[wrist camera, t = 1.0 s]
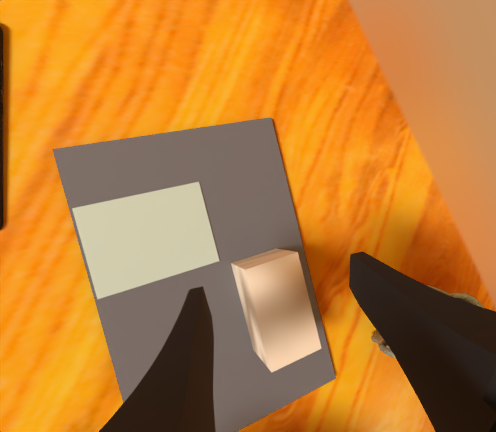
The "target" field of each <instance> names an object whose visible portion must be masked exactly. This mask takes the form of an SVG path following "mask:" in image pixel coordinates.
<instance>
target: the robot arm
mask: <svg viewBox="0 0 496 432" xmlns="http://www.w3.org/2000/svg"><path fill="white" fill-rule="evenodd" d="M349 287H350V289H351V291H352V293H353V294H354V296H355V298H356V300H357V302H358V304H359V305H360V307H361V308H362V310H363V311H364V313H365V314H366V315H367V317H368V318H369V320H370V321H371V322H372V324H373V325H374V327H375V328H376V329H377V331H378V332H379V334H380V335H381V336H382V338H383V339H384V341H385V342H386V343H387V345H388V346H389V348H390V349H391V351H392V352H393V354H394V356H395V357H396V359H397V361H398V362H399V364H400V366H401V368H402V369H403V371H404V373H405V375H406V376H407V378H408V380H409V382H410V384H411V385H412V387H413V389H414V391H415V393H416V394H417V396H418V398H419V400H420V402H421V404H422V406H423V408H424V410H425V412H426V414H427V415H428V417H429V419H430V421H431V423H432V425H433V427H434V429H435V431H436V432H496V312H495V311H492V310H489V309H485V308H482V307H479V306H477V305H474V304H471V303H468V302H465V301H462V300H460V299H457V298H454V297H452V296H449V295H447V294H445V293H442V292H440V291H437V290H435V289H433V288H430V287H428V286H426V285H424V284H422V283H420V282H418V281H416V280H414V279H412V278H410V277H408V276H406V275H404V274H402V273H400V272H398V271H397V270H395V269H393V268H391V267H389V266H388V265H386V264H384V263H382V262H380V261H379V260H377V259H375V258H373V257H372V256H370V255H368V254H366V253H364V252H359V253H354V254H351V256H350V282H349ZM213 368H214V332H213V322H212V315H211V312H210V308H209V305H208V302H207V298H206V295H205V292H204V288H203V286H202V287H197V288H193V289H190V290H189V291H188V293H187V296H186V299H185V301H184V304H183V306H182V309H181V311H180V313H179V316H178V318H177V320H176V322H175V324H174V326H173V328H172V330H171V332H170V334H169V336H168V338H167V340H166V342H165V344H164V345H163V347H162V349H161V351H160V352H159V354H158V356H157V357H156V359H155V360H154V362H153V364H152V365H151V367H150V368H149V370H148V371H147V373H146V374H145V375H144V377H143V378H142V380H141V381H140V383H139V384H138V385H137V387H136V388H135V389H134V391H133V392H132V393H131V394H130V396H129V397H128V398H127V399H126V401H125V402H124V403H123V404H122V406H121V407H120V408H119V409H118V411H117V412H116V413H115V414H114V415H113V417H112V418H111V419H110V420H109V421H108V422H107V423H106V424H105V425H104V427H103V428H102V429H101V430H100V431H99V432H216V430H215V416H214V402H213Z"/></svg>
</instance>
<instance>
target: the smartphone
mask: <svg viewBox="0 0 496 432" xmlns="http://www.w3.org/2000/svg"><path fill="white" fill-rule="evenodd" d="M2 226H3V31H2V28H1V27H0V229H1V228H2Z"/></svg>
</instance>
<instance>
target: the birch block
mask: <svg viewBox="0 0 496 432" xmlns="http://www.w3.org/2000/svg"><path fill="white" fill-rule="evenodd" d="M231 265H232V269H233V273H234V276H235V280H236V284H237V288H238V292H239V296H240V300H241V304H242V307H243V311H244V315H245V319H246V323H247V327H248V331H249V335H250V338H251V342H252V346H253V350H254V351H255V353H256V354H257V355H258V356H259V358H260V359H261V360H262V361H263V362H264V364H265V365H266V366H267V367H268V369H269V370H270V371H271V372H274V371H276V370H278V369H280V368H282V367H284V366H287V365H289V364H291V363H293V362H295V361H297V360H299V359H301V358H303V357H305V356H307V355H309V354H311V353H313V352H315V351H317V350H320V349H322V348H321V344H320V340H319V336H318V332H317V328H316V324H315V320H314V316H313V312H312V308H311V304H310V300H309V296H308V292H307V288H306V284H305V280H304V275H303V271H302V267H301V263H300V259H299V255H298V252H294V251H288V250H282V249H273V250H270V251H267V252H264V253H261V254H258V255H255V256H252V257H249V258H246V259H242V260H239V261H236V262H233V263H231Z"/></svg>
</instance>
